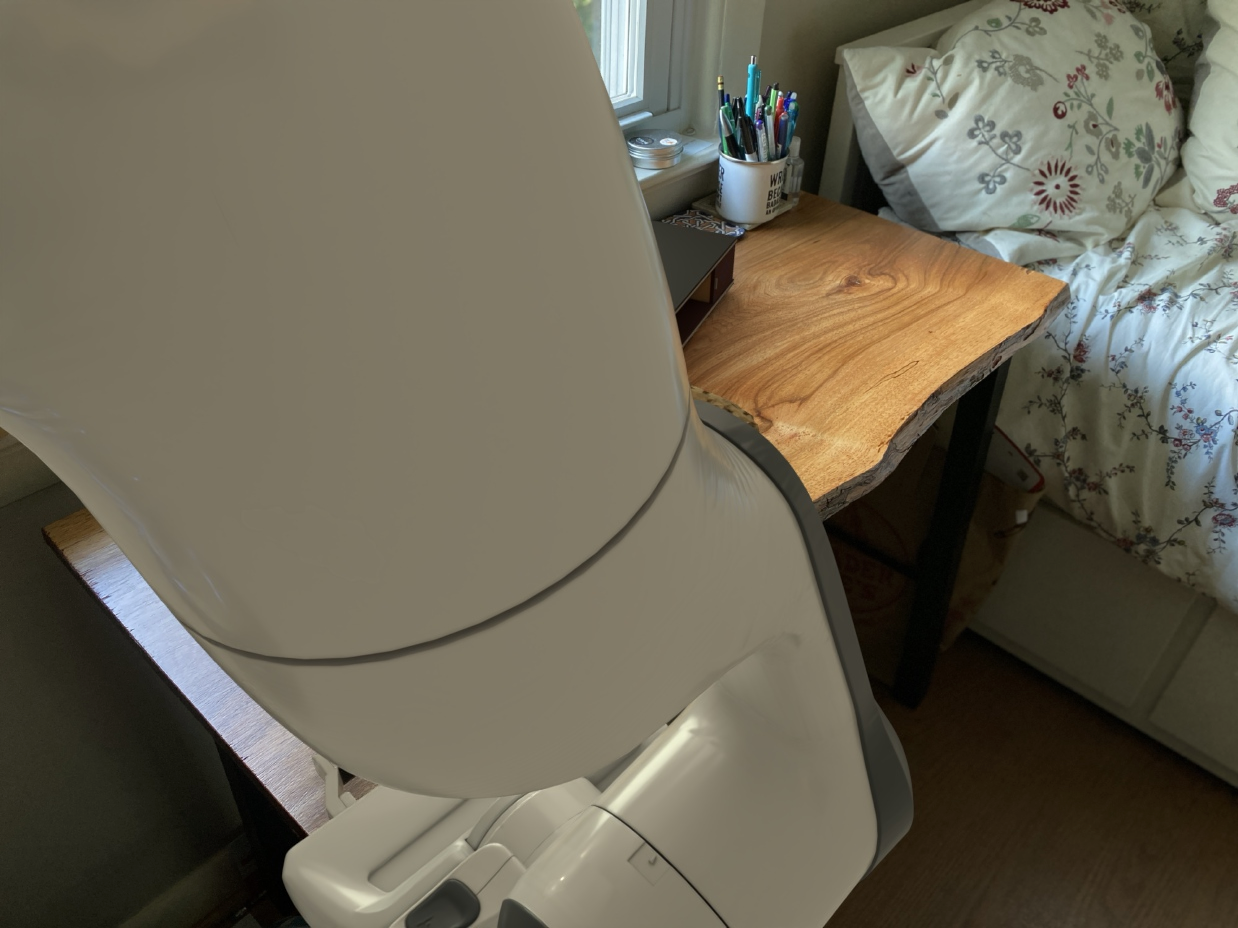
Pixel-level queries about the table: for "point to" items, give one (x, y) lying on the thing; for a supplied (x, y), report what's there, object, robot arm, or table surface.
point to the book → (695, 271)
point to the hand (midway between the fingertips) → (396, 706)
